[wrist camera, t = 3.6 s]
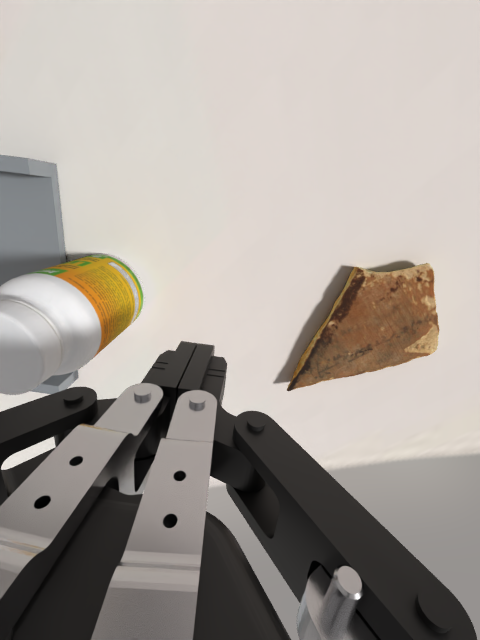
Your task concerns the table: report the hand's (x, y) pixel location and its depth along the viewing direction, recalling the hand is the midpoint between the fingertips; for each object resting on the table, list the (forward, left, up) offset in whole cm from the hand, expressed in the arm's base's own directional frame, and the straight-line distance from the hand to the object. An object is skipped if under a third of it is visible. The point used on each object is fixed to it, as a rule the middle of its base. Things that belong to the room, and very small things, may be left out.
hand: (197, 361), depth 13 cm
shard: (+1, +11, -9) cm, 14 cm away
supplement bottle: (0, -8, -8) cm, 11 cm away
